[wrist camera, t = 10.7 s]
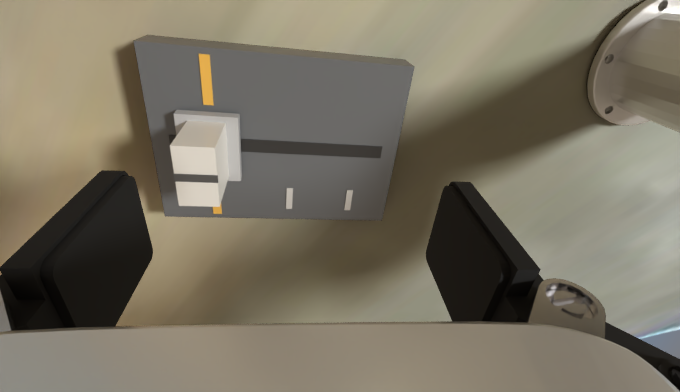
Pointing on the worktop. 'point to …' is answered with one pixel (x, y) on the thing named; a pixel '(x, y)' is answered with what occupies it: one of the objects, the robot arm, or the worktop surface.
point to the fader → (205, 156)
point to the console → (281, 124)
